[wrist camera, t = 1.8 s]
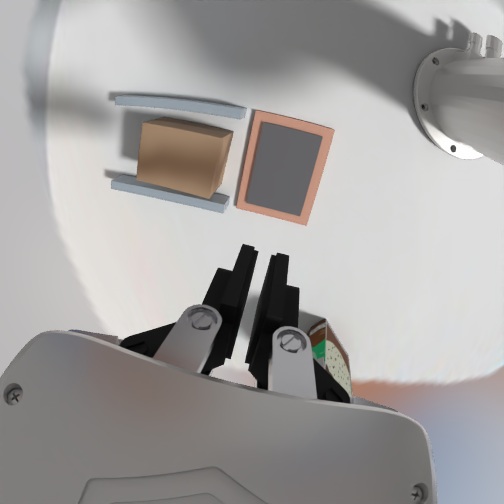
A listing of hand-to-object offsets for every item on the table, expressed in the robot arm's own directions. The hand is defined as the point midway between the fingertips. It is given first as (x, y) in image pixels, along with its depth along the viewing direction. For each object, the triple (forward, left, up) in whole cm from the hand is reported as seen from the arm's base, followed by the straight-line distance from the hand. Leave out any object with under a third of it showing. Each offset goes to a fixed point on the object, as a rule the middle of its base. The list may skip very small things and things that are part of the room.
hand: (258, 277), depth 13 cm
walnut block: (0, -10, -19) cm, 22 cm away
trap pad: (0, 0, -19) cm, 19 cm away
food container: (+24, +12, -19) cm, 33 cm away
